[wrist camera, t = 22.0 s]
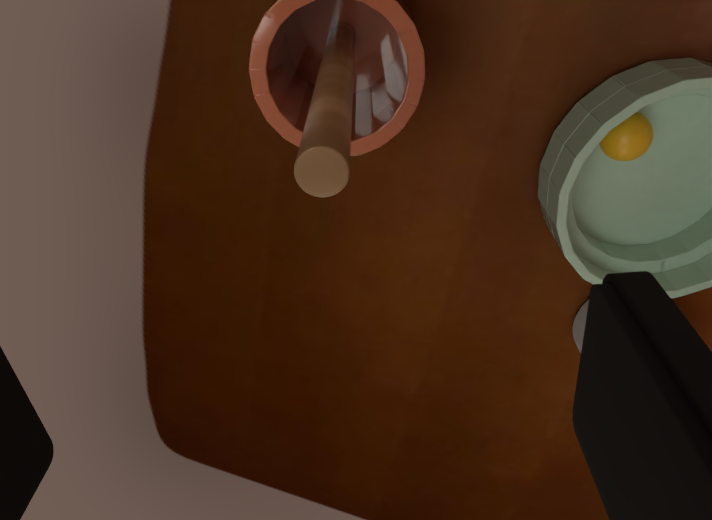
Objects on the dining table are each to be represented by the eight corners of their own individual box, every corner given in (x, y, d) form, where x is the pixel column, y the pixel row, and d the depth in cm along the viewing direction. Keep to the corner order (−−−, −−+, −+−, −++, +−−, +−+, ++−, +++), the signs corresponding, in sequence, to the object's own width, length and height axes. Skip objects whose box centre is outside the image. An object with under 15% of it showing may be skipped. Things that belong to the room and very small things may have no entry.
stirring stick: (325, 24, 33) (288, 150, 16) (353, 20, 33) (344, 142, 16) (330, 53, 34) (299, 201, 17) (357, 49, 34) (353, 194, 17)
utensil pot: (263, -33, 32) (233, -13, 25) (407, -48, 32) (422, -33, 24) (285, 109, 36) (265, 164, 29) (413, 97, 36) (427, 150, 28)
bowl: (544, 67, 35) (569, 90, 31) (788, 45, 34) (849, 65, 30) (529, 266, 42) (548, 307, 38) (730, 251, 42) (772, 291, 37)
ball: (654, 123, 32) (658, 165, 34) (647, 95, 35) (652, 136, 36) (596, 135, 34) (604, 175, 36) (593, 108, 36) (600, 147, 38)
